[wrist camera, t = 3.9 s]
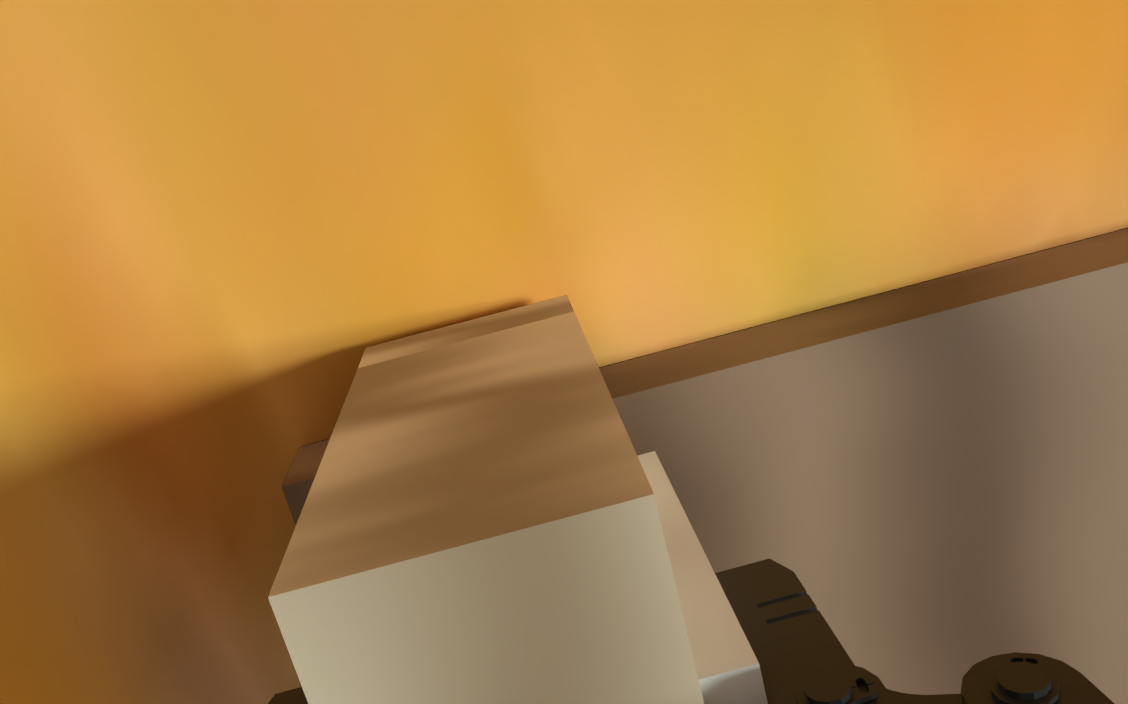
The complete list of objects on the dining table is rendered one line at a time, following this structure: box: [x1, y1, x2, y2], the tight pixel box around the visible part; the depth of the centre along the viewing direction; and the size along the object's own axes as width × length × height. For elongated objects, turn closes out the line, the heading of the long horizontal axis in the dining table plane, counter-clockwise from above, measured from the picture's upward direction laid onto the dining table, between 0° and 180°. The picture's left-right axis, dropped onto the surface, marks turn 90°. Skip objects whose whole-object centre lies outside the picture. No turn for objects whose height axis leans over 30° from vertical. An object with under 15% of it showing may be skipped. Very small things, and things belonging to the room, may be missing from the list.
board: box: [282, 228, 1128, 704], centre depth 21 cm, size 24×12×2 cm, turn 104°
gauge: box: [268, 295, 704, 704], centre depth 15 cm, size 4×8×10 cm, turn 14°
